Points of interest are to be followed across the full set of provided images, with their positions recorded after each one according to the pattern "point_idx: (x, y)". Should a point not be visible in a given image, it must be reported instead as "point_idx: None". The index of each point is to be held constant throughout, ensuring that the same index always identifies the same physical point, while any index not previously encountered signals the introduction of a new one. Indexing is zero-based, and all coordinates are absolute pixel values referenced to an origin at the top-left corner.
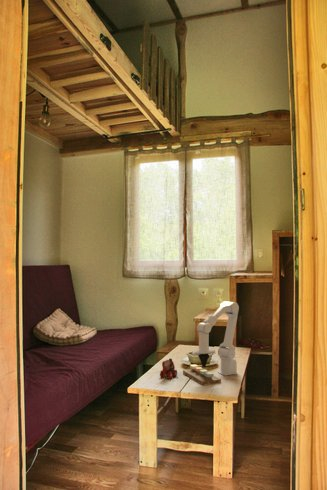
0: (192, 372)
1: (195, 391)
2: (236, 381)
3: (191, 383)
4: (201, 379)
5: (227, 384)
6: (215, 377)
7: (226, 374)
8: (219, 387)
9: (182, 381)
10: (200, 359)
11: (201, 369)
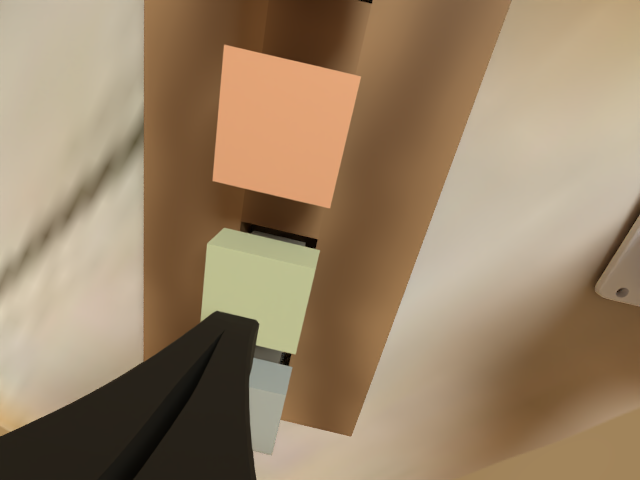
0: (229, 25)
1: (43, 415)
2: (493, 454)
3: (91, 271)
4: (168, 340)
5: (361, 454)
6: (346, 377)
7: (628, 302)
8: (254, 457)
9: (24, 165)
10: (73, 423)
11: (294, 196)
